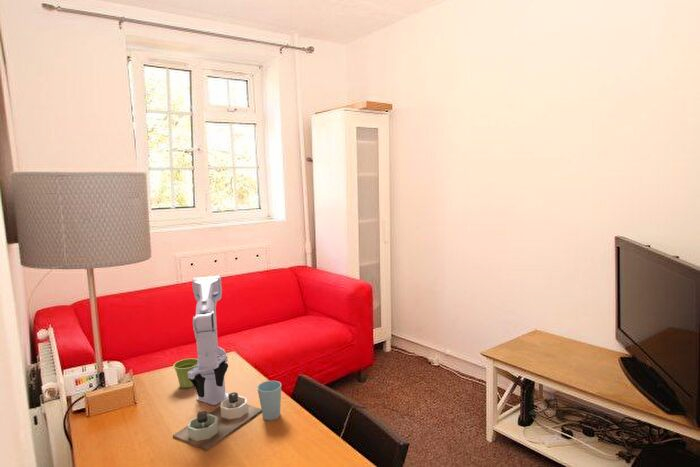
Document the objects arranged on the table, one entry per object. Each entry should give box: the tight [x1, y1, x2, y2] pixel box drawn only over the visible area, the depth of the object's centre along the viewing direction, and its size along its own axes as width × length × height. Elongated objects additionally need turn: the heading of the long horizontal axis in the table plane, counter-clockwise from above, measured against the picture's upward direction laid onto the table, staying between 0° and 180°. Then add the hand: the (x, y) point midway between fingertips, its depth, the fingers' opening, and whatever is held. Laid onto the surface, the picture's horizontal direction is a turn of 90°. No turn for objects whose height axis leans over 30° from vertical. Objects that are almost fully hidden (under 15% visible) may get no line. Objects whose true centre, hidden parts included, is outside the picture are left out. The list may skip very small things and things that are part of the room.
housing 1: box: [187, 413, 218, 441], centre depth 135 cm, size 8×8×3 cm
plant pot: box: [172, 358, 198, 389], centre depth 169 cm, size 9×9×9 cm
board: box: [172, 404, 262, 452], centre depth 141 cm, size 15×24×1 cm, turn 149°
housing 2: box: [220, 395, 248, 419], centre depth 146 cm, size 8×8×3 cm
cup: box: [257, 380, 282, 421], centre depth 144 cm, size 8×8×10 cm
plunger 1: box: [196, 410, 210, 429], centre depth 135 cm, size 6×6×6 cm
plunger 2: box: [228, 391, 239, 408], centre depth 146 cm, size 6×6×6 cm
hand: (210, 390), depth 141 cm, fingers open, 7 cm apart
